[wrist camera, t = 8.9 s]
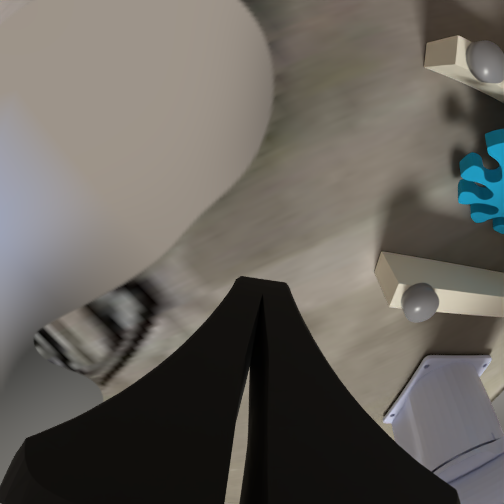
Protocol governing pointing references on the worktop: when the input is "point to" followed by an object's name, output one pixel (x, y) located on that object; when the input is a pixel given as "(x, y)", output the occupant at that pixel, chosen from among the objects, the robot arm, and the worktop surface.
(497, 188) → the gear
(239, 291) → the robot arm
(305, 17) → the worktop surface
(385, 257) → the gear housing
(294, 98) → the worktop surface
